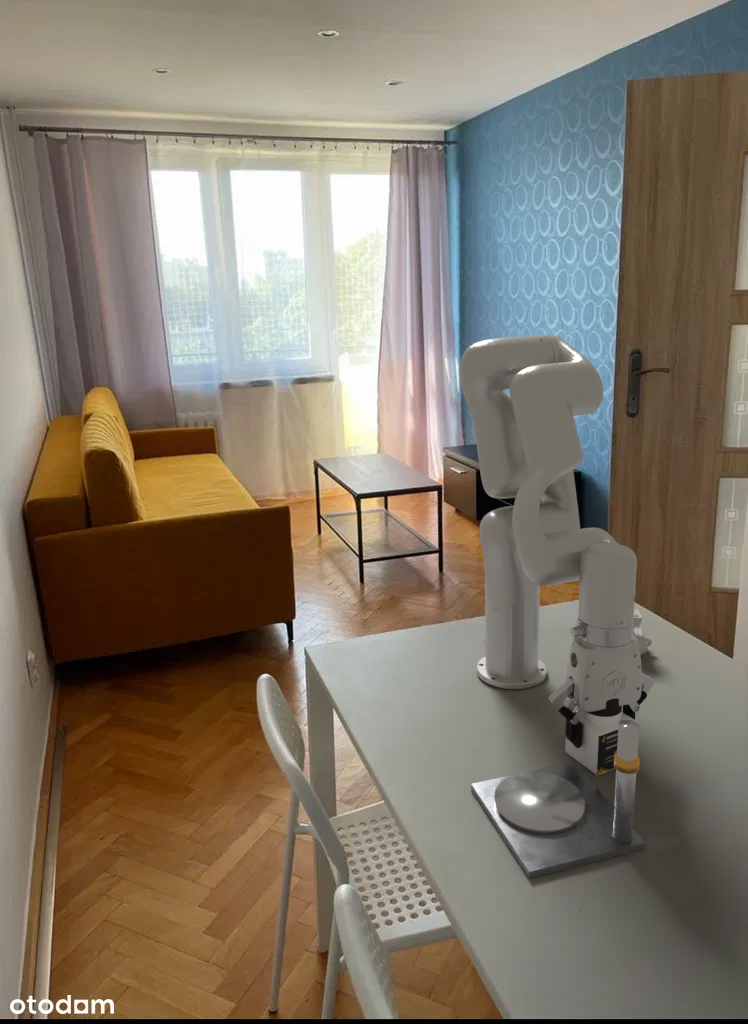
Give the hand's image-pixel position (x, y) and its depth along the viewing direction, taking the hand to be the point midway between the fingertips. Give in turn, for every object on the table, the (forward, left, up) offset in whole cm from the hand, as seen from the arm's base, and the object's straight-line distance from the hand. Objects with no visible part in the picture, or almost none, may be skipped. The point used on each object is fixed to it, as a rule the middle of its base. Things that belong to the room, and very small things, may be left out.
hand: (599, 736), depth 116 cm
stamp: (-28, +23, -4) cm, 36 cm away
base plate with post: (+10, -13, -3) cm, 17 cm away
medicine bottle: (0, 0, -4) cm, 4 cm away
